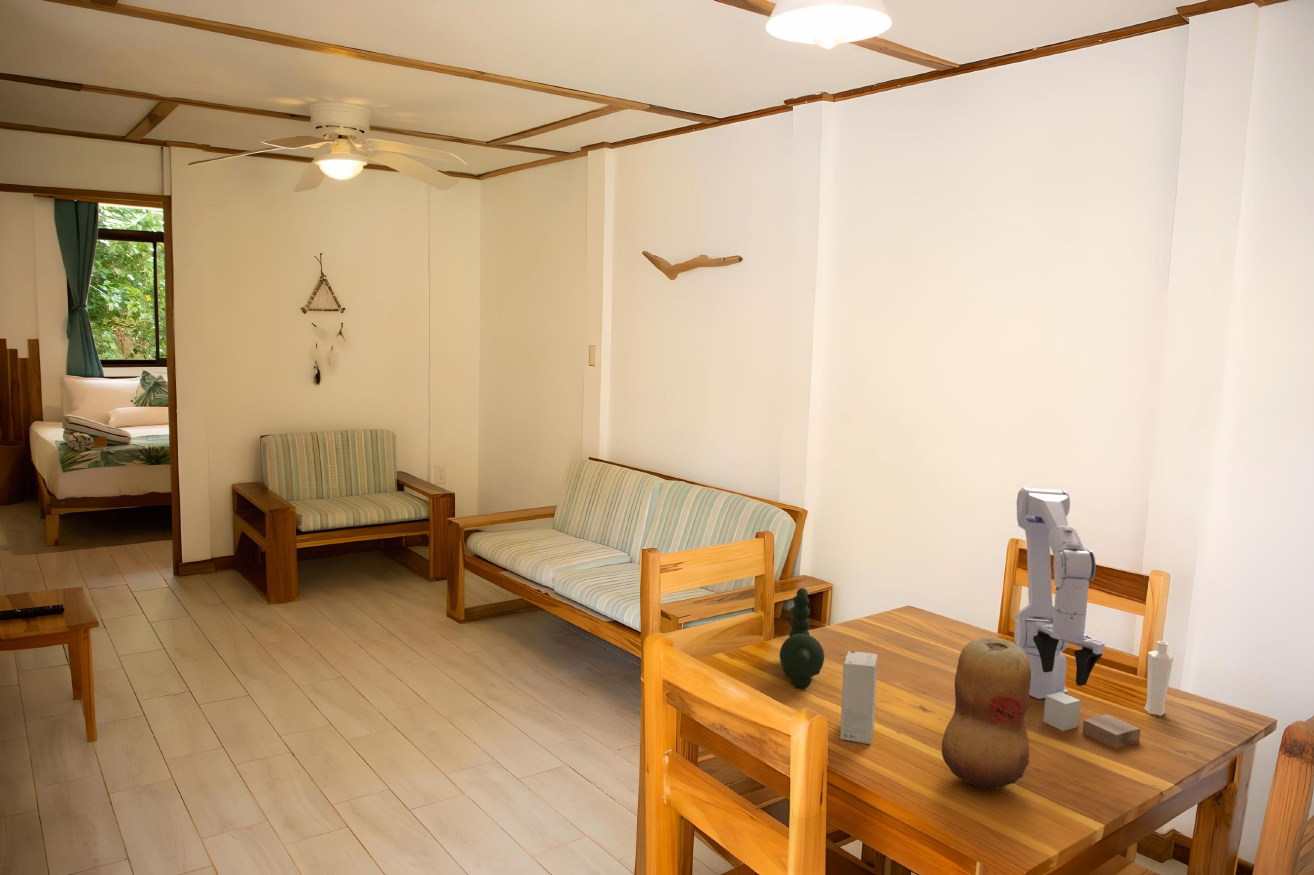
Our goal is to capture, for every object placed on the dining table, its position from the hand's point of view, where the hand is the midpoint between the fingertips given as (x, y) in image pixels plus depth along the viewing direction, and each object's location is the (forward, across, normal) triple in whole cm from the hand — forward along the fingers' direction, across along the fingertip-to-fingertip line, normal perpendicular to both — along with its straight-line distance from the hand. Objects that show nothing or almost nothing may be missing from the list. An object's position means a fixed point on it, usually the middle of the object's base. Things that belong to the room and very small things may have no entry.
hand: (1064, 677), depth 175 cm
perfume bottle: (+10, +4, +24) cm, 26 cm away
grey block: (+10, 0, 0) cm, 10 cm away
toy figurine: (+10, -41, -33) cm, 54 cm away
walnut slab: (+10, +8, +4) cm, 13 cm away
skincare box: (+10, -13, -41) cm, 44 cm away
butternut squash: (+10, +11, -34) cm, 37 cm away
